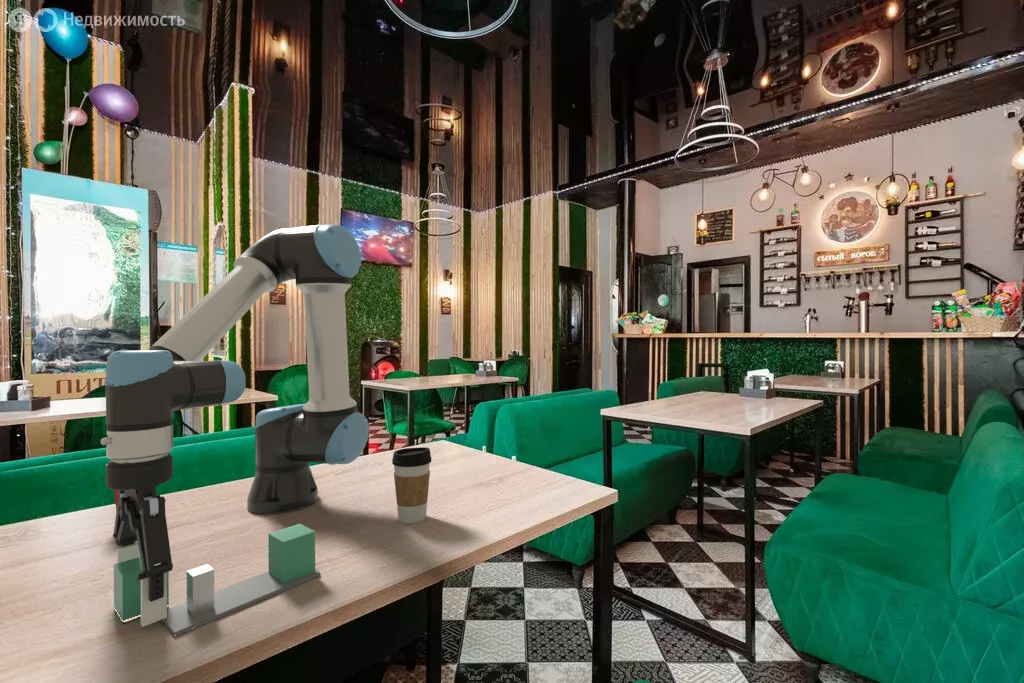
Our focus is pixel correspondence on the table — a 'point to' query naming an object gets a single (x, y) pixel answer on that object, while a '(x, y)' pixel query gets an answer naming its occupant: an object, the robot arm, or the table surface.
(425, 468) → the coffee cup
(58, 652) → the table surface
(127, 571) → the green block
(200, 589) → the post
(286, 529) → the stand
